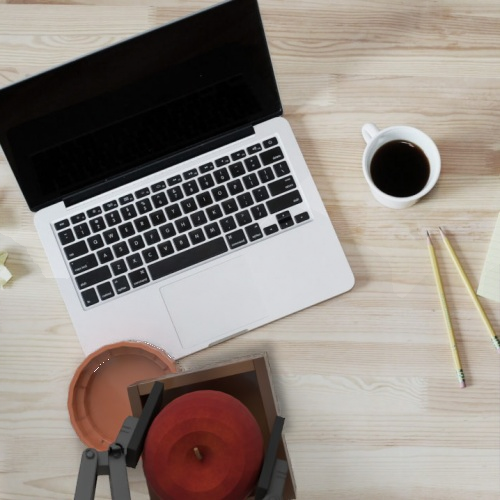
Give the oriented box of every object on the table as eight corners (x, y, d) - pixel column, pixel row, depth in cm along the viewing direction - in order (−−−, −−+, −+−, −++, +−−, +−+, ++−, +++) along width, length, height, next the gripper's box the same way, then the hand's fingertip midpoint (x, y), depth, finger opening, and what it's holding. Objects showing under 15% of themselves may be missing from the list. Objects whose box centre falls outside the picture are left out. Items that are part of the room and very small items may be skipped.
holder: (164, 514, 63) (155, 528, 59) (136, 381, 64) (126, 386, 60) (296, 486, 63) (296, 499, 59) (266, 352, 64) (263, 356, 60)
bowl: (88, 467, 88) (80, 473, 85) (65, 353, 89) (56, 356, 86) (200, 442, 87) (196, 448, 84) (175, 329, 88) (170, 330, 85)
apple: (284, 470, 61) (281, 504, 51) (181, 508, 62) (157, 549, 52) (245, 366, 62) (235, 380, 52) (144, 404, 63) (114, 424, 53)
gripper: (-49, 675, 46) (91, 398, 62) (286, 786, 44) (339, 470, 60) (-68, 632, 40) (90, 343, 57) (310, 756, 39) (360, 420, 55)
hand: (218, 408), depth 59 cm, fingers closed on apple, 9 cm apart
